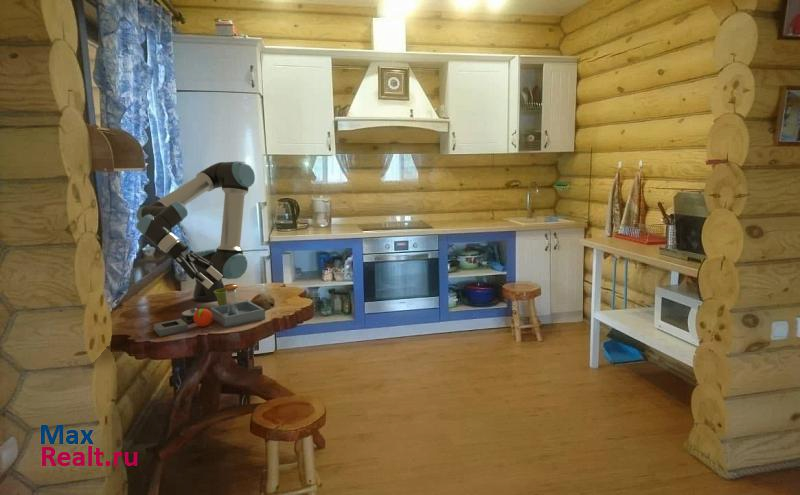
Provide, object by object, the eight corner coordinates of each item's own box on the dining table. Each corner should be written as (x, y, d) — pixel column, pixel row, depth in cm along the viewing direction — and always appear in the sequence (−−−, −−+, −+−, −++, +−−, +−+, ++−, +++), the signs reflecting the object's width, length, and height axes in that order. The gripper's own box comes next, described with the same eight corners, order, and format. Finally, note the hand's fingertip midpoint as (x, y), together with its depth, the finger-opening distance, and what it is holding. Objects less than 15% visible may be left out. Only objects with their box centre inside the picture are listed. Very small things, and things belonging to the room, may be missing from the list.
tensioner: (149, 325, 192) (148, 314, 192) (202, 314, 205) (201, 304, 204) (160, 336, 178) (158, 325, 177) (216, 324, 190) (215, 313, 190)
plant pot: (213, 308, 213) (211, 289, 212) (235, 305, 218) (234, 286, 216) (217, 313, 205) (215, 293, 204) (240, 310, 210) (238, 290, 208)
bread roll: (264, 318, 209) (270, 302, 207) (244, 308, 210) (250, 292, 208) (274, 312, 218) (280, 296, 216) (255, 302, 219) (261, 286, 218)
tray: (210, 317, 201) (210, 307, 200) (248, 309, 210) (247, 300, 210) (225, 327, 187) (224, 317, 186) (265, 318, 196) (264, 309, 196)
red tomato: (209, 329, 185) (207, 311, 184) (190, 330, 184) (188, 312, 183) (215, 322, 193) (214, 305, 192) (197, 323, 192) (196, 306, 191)
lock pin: (224, 316, 198) (221, 285, 195) (237, 313, 201) (234, 283, 199) (229, 319, 194) (226, 287, 191) (241, 316, 197) (239, 285, 195)
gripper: (179, 248, 203) (218, 281, 207) (154, 259, 179) (199, 297, 182) (190, 235, 203) (230, 269, 206) (167, 244, 178) (213, 282, 182)
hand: (216, 282), depth 194 cm, fingers open, 13 cm apart
